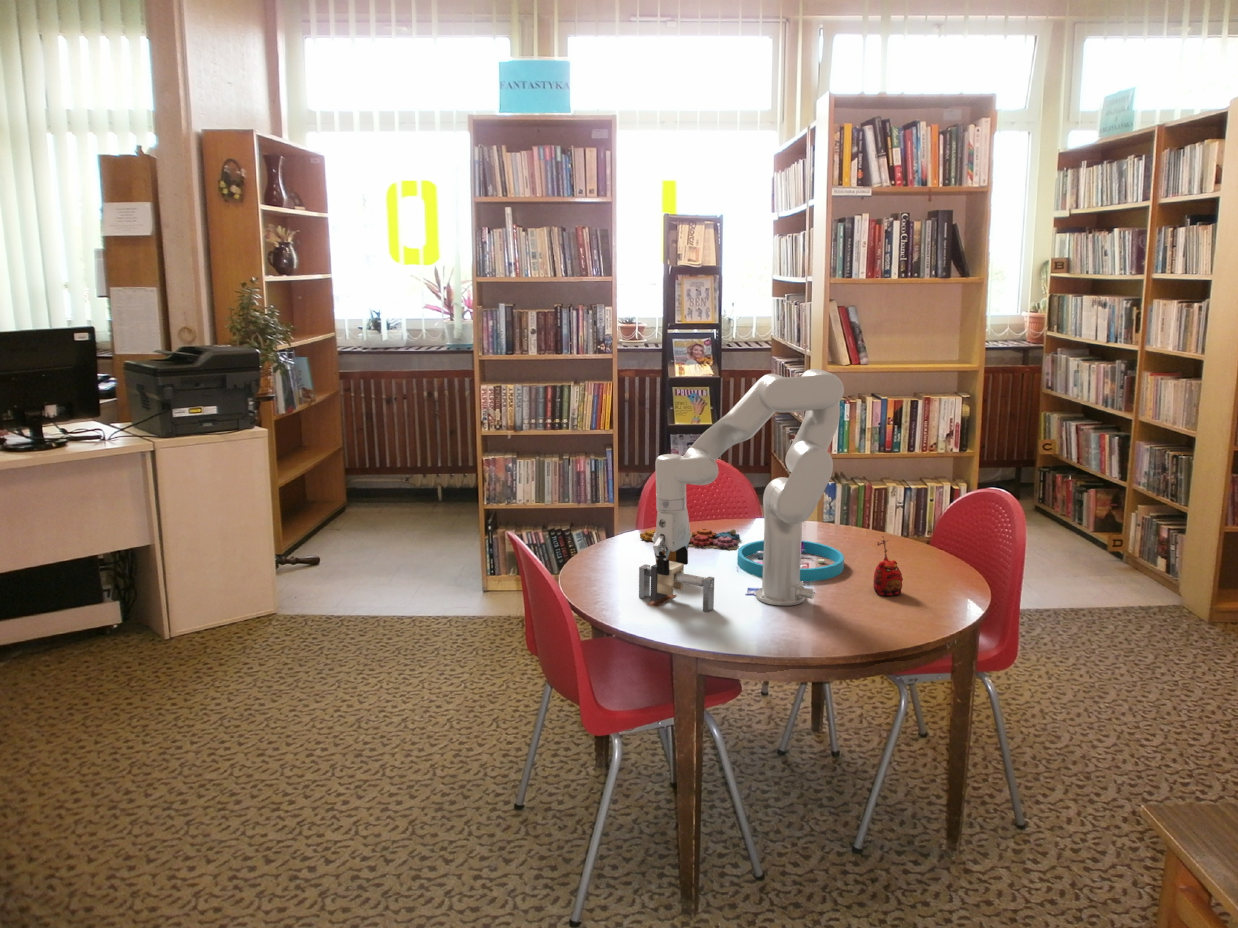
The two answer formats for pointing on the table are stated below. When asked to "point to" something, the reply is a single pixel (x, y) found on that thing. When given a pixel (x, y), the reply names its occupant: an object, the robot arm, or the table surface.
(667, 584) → the sleeve
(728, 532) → the gear puzzle
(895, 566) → the red clay folk toy
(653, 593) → the dark grey u-shaped piece
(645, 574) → the grey long flanged piece
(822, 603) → the table surface
